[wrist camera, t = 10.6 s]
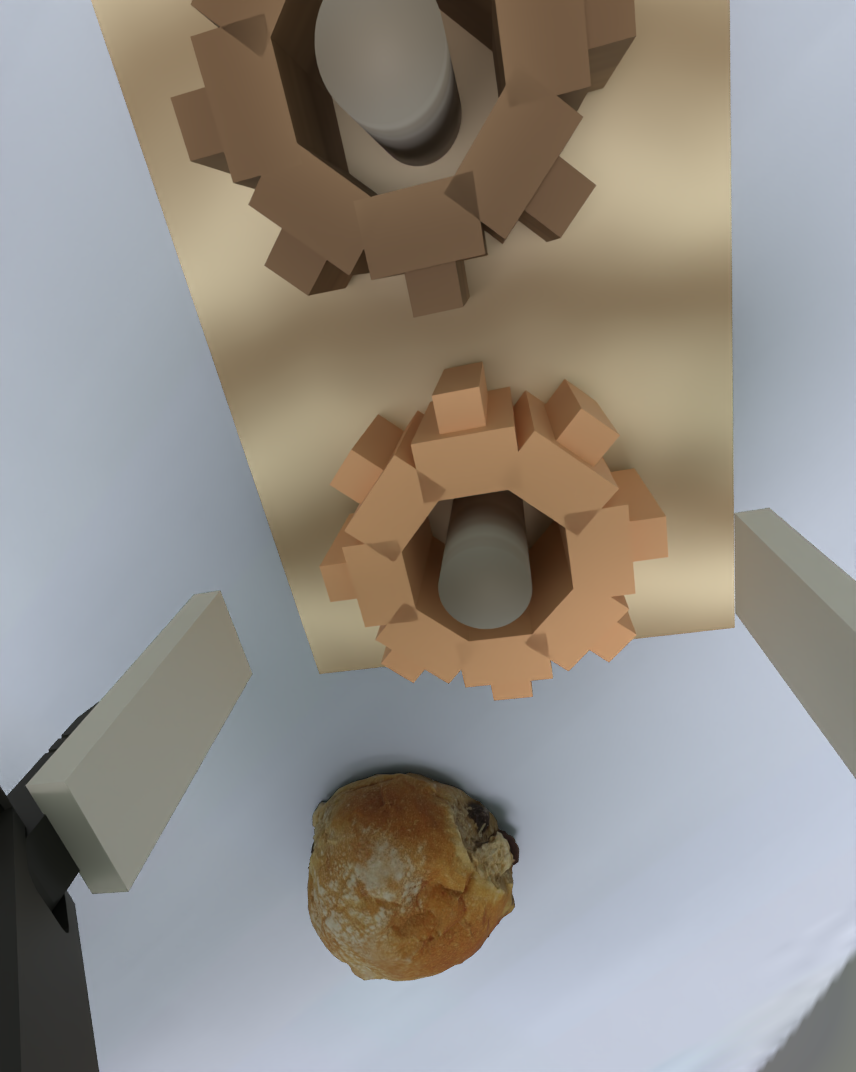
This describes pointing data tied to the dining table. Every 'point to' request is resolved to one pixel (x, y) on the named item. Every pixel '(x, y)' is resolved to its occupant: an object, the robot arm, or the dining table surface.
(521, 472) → the gear
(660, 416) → the peg board
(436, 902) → the bread roll
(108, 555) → the dining table surface
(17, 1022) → the robot arm
